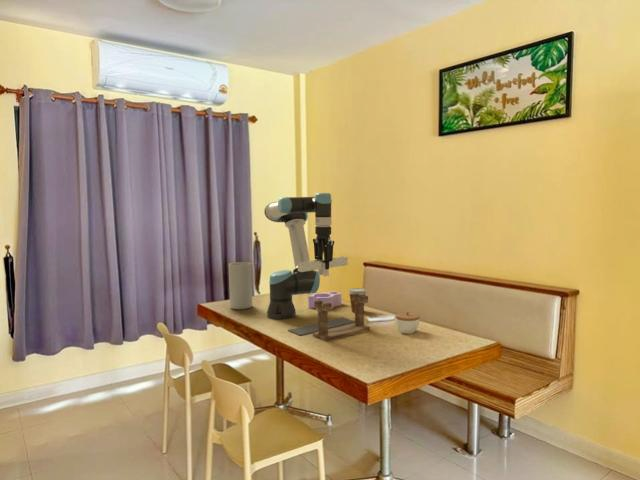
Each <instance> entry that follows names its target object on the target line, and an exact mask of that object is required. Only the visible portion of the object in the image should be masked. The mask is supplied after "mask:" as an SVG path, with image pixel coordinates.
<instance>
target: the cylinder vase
mask: <svg viewBox="0 0 640 480" xmlns="http://www.w3.org/2000/svg"><path fill="white" fill-rule="evenodd" d="M252 277H253V276H252V263H251V262H247V261H239V262H238V261H236V262H230V263H228V280H229V281H228V283H229V285H228V286H229V307H230V308H231V309H232V310H246V309H249V308H252V307H253V287H252V285H253V284H252V282H253V281H252Z"/></svg>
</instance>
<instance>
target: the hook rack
mask: <svg viewBox="0 0 640 480" xmlns="http://www.w3.org/2000/svg"><path fill="white" fill-rule="evenodd" d="M351 301H355V313H354V321H355V323H351V324H347V325H343V326H339V327H335V328H331V329H328V321H329V317H328V314H329V312H330V311H332V309H333V308H332V307H331V303H325V304H323V305H322V301H320V300H318V301H314V308H313V309H315V310H316V309H318V310H317V320H318V321H317V323H318V332H314V333H312V337H314V338H316V339H319V340H321V341H324V342H330V341H334V340H337V339H342V338H346V337H350V336H352V335H356V334H360V333H364V332H369V331H371V327H370V326H368V325H365V304H368V303H369V295H365V296H360V298H359V294H356V293H355V294H351ZM351 301H350V302H351Z"/></svg>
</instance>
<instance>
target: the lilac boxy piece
mask: <svg viewBox="0 0 640 480" xmlns="http://www.w3.org/2000/svg"><path fill="white" fill-rule="evenodd" d="M307 297H308V301H307V303H308V309H315V311H318V309H316V308H314V301H318V300H320V301H322V305H323V304H325V303H331V307H332V309H334V307H340V306H342V303H343V302H342V292H338V291H328V292H318V293H317V292H315V293H311V295H309V296H307Z"/></svg>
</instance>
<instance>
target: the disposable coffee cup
mask: <svg viewBox="0 0 640 480" xmlns="http://www.w3.org/2000/svg"><path fill="white" fill-rule="evenodd" d="M355 293H356V294H359V298H360V296H366V294H367V291H366V289H365V288H362V287H361V288H359V287H358V288H357V287H353V288H349V291H348V295H349V301H350V307H351V312H352V313H354V314H355V301H351V294H355Z"/></svg>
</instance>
